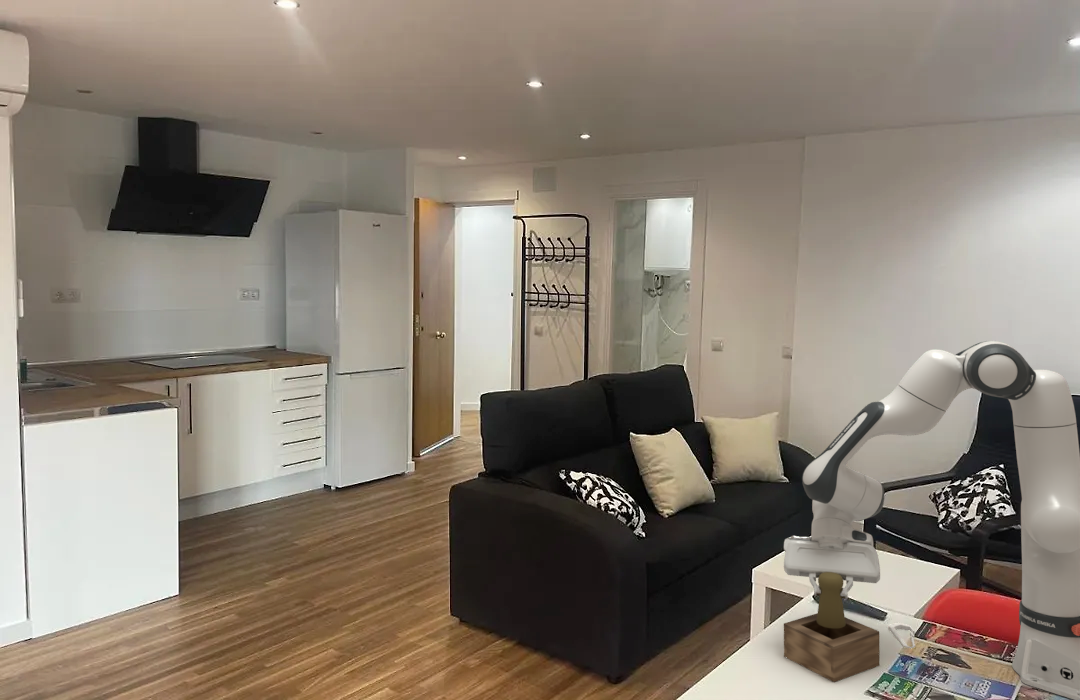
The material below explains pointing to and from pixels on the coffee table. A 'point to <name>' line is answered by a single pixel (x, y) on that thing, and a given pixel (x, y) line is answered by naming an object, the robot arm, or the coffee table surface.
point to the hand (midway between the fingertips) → (830, 596)
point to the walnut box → (831, 647)
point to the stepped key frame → (893, 629)
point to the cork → (830, 601)
